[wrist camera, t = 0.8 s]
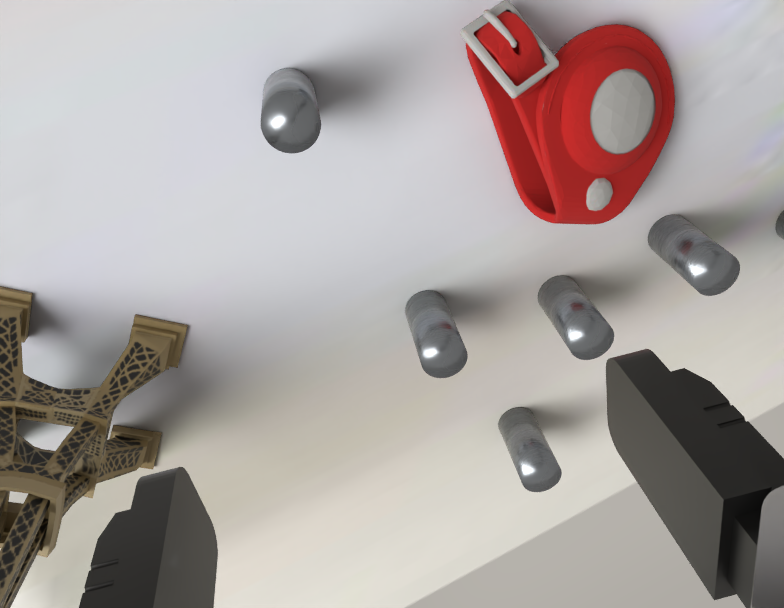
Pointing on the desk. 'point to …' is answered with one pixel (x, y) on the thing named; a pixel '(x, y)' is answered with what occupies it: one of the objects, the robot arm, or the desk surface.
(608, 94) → the tracker holder
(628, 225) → the desk surface
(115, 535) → the robot arm
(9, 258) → the desk surface
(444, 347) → the spacer posts
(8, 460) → the eiffel tower
